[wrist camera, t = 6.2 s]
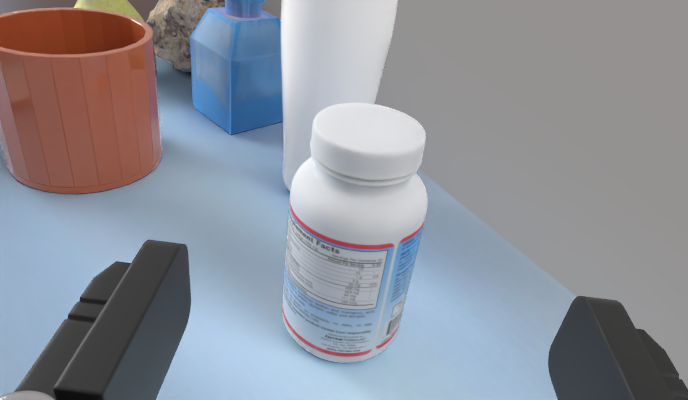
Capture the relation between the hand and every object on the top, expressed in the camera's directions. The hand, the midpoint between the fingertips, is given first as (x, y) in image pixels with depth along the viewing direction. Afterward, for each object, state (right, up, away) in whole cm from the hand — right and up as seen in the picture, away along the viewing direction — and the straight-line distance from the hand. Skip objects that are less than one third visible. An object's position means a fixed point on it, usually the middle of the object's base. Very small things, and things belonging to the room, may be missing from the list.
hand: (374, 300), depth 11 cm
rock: (-12, +18, +46) cm, 51 cm away
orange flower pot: (-19, +5, +27) cm, 33 cm away
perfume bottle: (-10, +10, +36) cm, 38 cm away
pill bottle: (-1, -4, +16) cm, 17 cm away
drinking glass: (-3, +3, +27) cm, 27 cm away
